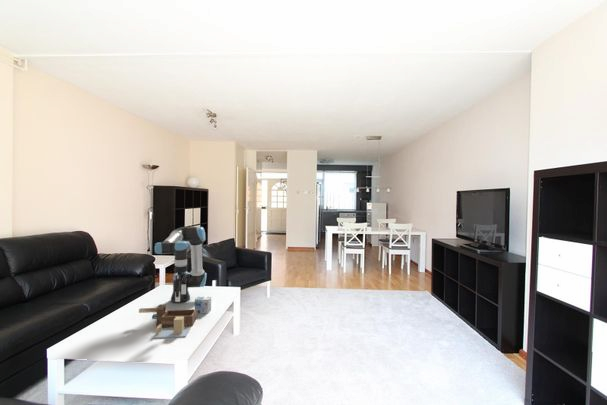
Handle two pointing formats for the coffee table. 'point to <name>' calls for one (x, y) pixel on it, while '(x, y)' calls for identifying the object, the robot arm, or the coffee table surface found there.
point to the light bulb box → (203, 304)
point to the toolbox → (168, 316)
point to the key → (147, 310)
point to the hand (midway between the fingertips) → (180, 297)
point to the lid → (172, 330)
